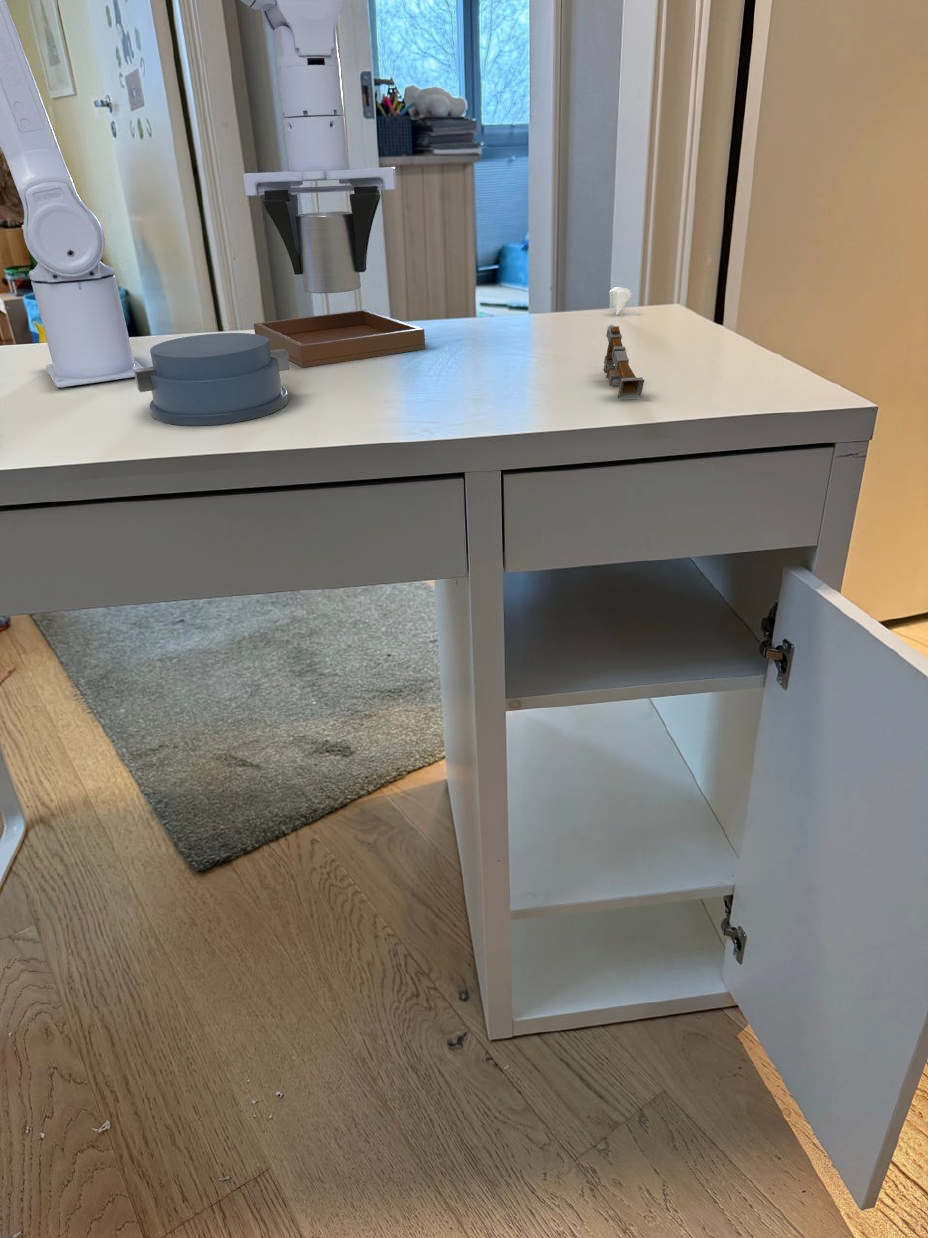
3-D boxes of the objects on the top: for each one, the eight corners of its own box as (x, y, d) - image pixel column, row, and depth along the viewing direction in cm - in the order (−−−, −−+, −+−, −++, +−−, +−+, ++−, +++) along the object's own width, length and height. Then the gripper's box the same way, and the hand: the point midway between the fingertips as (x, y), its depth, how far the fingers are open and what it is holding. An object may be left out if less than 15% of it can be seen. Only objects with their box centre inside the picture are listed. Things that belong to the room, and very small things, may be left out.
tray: (256, 342, 94) (253, 323, 93) (367, 327, 99) (365, 309, 98) (302, 367, 82) (299, 346, 81) (425, 349, 88) (424, 328, 87)
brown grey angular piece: (615, 362, 75) (623, 317, 71) (635, 423, 70) (645, 377, 66) (594, 364, 75) (601, 318, 71) (613, 424, 70) (622, 378, 66)
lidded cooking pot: (132, 404, 72) (118, 343, 70) (271, 382, 77) (263, 324, 75) (159, 435, 64) (144, 367, 62) (313, 409, 69) (306, 345, 66)
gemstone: (609, 314, 102) (615, 288, 101) (631, 318, 101) (637, 291, 100) (601, 311, 100) (607, 284, 99) (623, 314, 98) (629, 287, 98)
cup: (296, 288, 89) (286, 214, 86) (348, 282, 91) (341, 210, 88) (315, 295, 85) (306, 216, 81) (369, 288, 87) (363, 212, 84)
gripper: (226, 119, 77) (250, 280, 84) (386, 112, 77) (397, 274, 83) (245, 121, 84) (266, 270, 90) (393, 114, 83) (403, 265, 90)
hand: (330, 272), depth 87 cm, fingers closed on cup, 6 cm apart
